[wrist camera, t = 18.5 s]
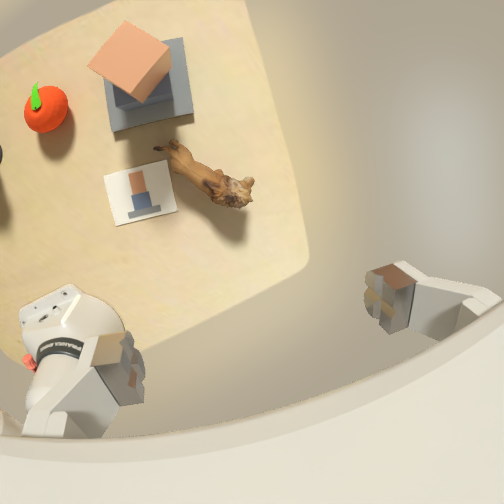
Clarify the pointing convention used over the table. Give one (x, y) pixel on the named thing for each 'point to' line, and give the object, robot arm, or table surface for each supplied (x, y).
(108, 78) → the terracotta brick
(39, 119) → the clementine
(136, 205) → the page
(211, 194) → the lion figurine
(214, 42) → the table surface
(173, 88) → the tower base
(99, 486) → the robot arm
